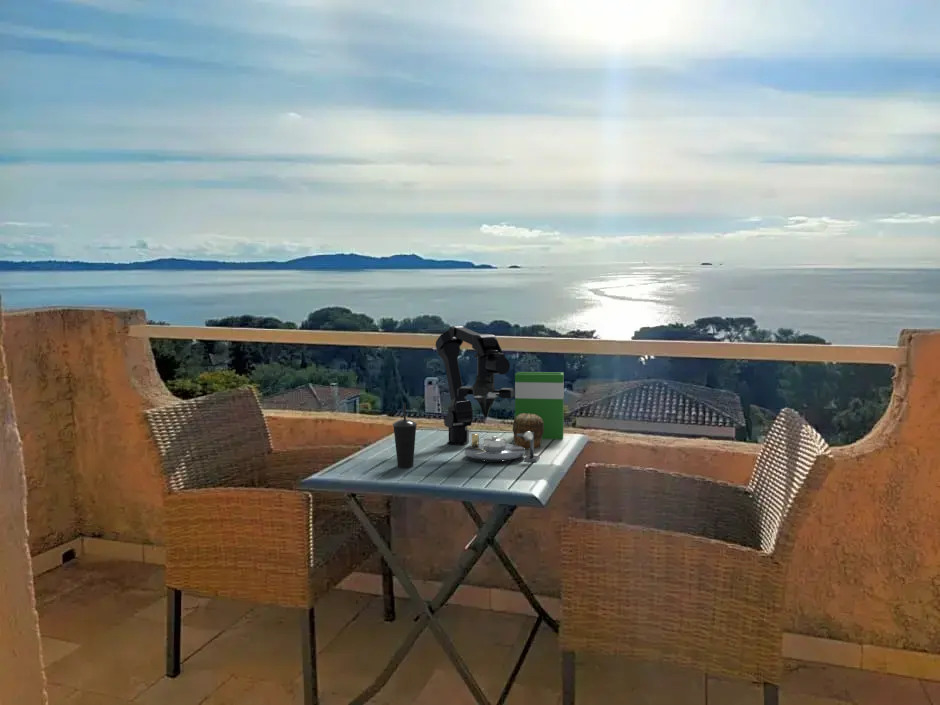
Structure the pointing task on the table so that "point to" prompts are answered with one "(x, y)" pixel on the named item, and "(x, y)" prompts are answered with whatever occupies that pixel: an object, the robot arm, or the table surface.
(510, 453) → the platter
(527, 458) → the dial stand
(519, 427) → the shell
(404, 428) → the drinking cup
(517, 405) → the hardback book
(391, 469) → the table surface
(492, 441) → the cover
